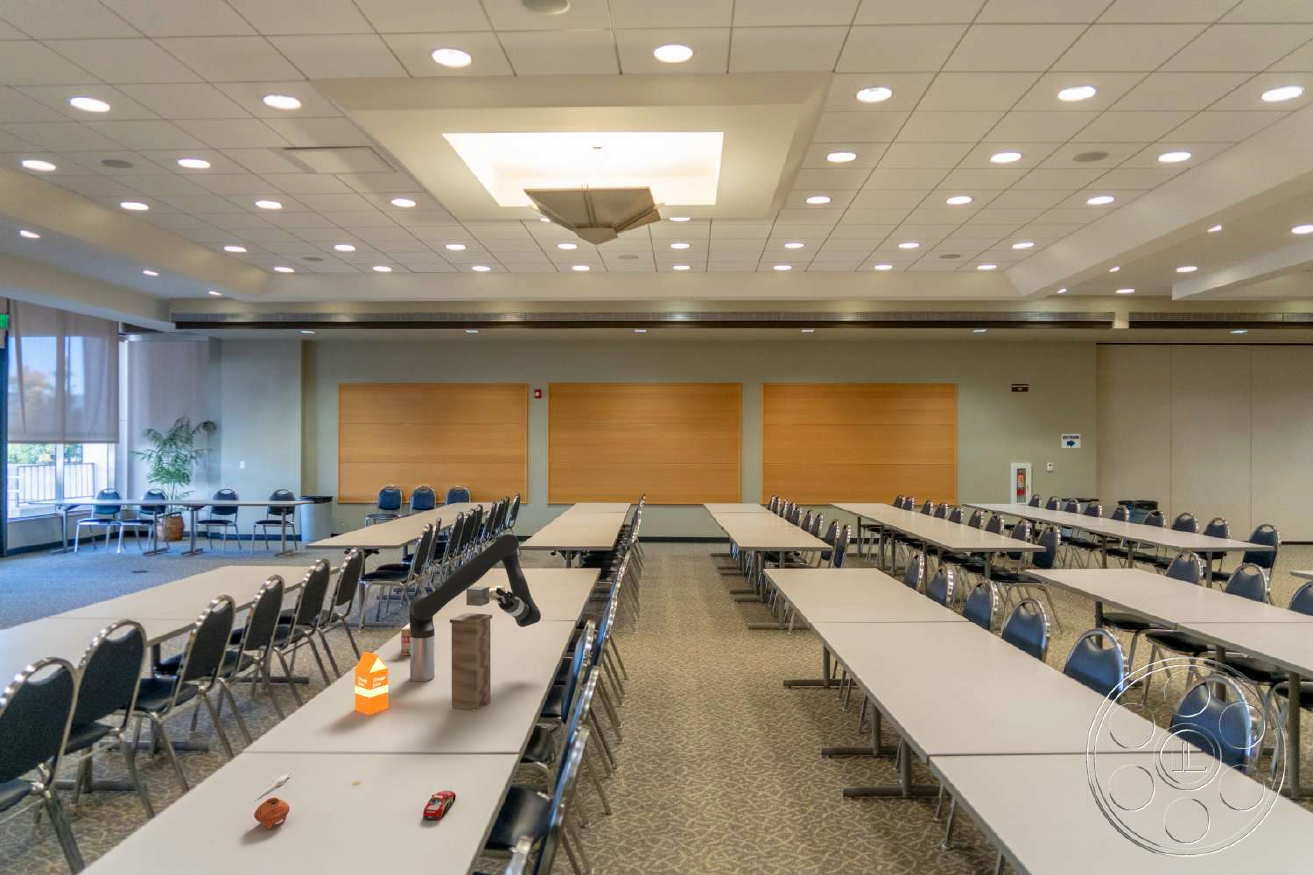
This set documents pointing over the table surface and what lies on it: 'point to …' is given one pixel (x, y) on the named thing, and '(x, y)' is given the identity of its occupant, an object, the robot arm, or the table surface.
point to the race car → (439, 805)
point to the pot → (271, 812)
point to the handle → (481, 595)
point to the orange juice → (371, 684)
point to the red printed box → (406, 640)
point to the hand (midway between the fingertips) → (492, 589)
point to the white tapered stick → (275, 784)
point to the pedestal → (471, 661)
